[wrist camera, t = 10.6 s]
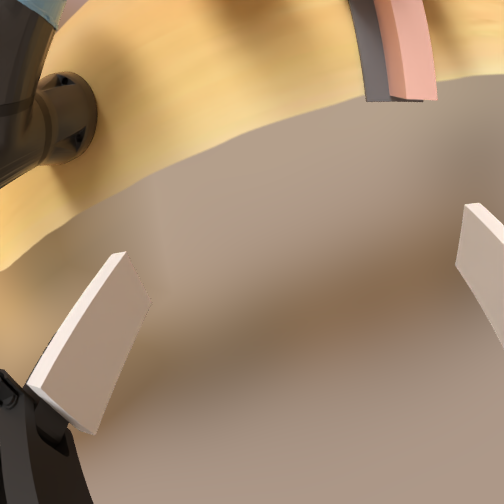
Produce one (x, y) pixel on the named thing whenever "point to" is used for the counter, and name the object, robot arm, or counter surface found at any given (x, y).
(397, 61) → the pink rectangular block
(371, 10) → the pad
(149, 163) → the counter surface
